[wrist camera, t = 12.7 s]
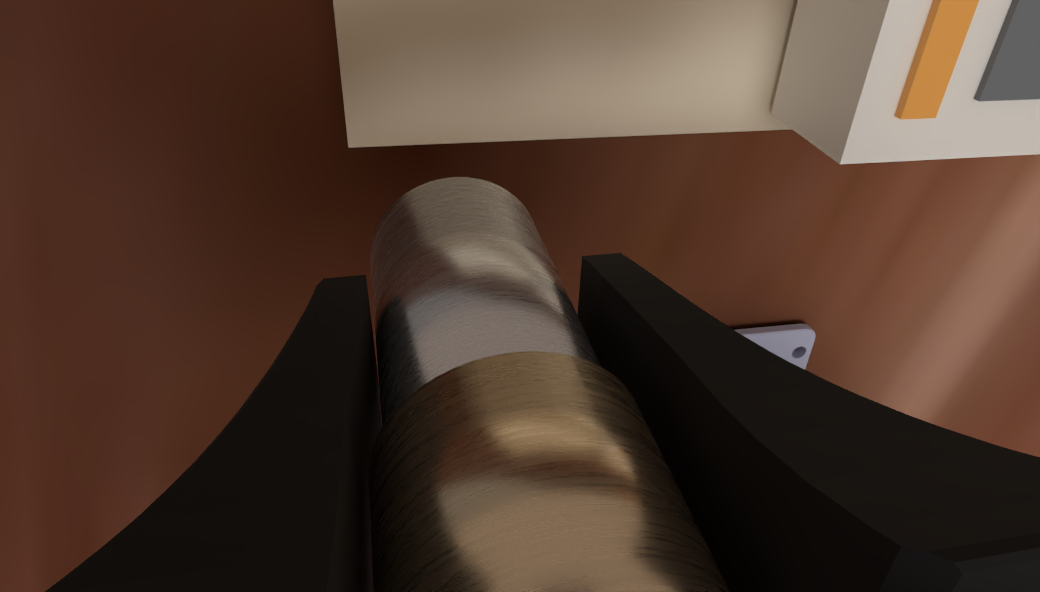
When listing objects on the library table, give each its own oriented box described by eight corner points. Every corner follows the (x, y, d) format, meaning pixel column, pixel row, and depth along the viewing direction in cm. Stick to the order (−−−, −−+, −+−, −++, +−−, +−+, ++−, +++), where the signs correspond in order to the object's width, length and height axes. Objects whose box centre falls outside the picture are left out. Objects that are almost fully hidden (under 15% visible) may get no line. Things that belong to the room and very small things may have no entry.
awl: (542, 322, 14) (716, 761, 8) (366, 339, 13) (392, 833, 7) (554, 161, 12) (797, 560, 6) (349, 171, 12) (363, 636, 5)
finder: (952, 106, 18) (1052, 157, 16) (771, 113, 17) (845, 168, 15) (1039, -121, 15) (1179, -106, 13) (827, -127, 15) (931, -113, 12)
